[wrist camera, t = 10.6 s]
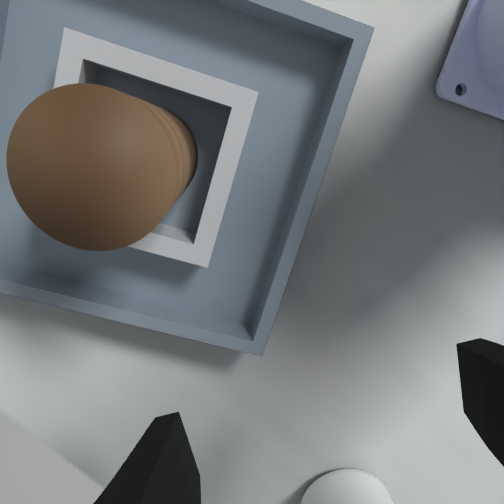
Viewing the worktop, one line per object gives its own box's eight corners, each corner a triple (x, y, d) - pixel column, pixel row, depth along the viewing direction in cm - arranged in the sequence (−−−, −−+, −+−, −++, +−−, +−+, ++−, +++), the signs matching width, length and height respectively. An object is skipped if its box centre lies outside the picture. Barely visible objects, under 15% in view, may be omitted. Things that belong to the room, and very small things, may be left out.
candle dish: (354, 41, 18) (377, 25, 15) (257, 331, 21) (262, 359, 19) (15, -82, 16) (-26, -125, 13) (-34, 258, 19) (-75, 278, 17)
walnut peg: (205, 116, 18) (187, 103, 10) (190, 210, 19) (162, 263, 11) (108, 95, 17) (11, 65, 10) (97, 192, 18) (2, 235, 11)
